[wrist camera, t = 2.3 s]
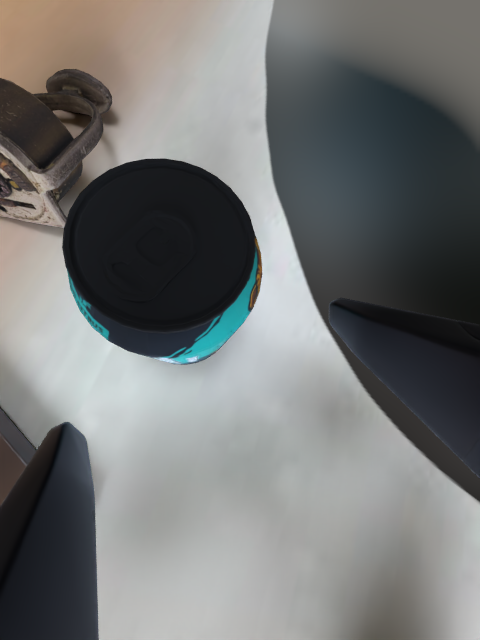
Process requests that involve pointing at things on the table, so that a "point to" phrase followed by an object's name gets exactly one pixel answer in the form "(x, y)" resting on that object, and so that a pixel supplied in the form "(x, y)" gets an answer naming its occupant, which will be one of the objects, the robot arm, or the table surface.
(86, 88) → the mechanical counter
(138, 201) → the beverage can
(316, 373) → the table surface
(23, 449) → the brown box
